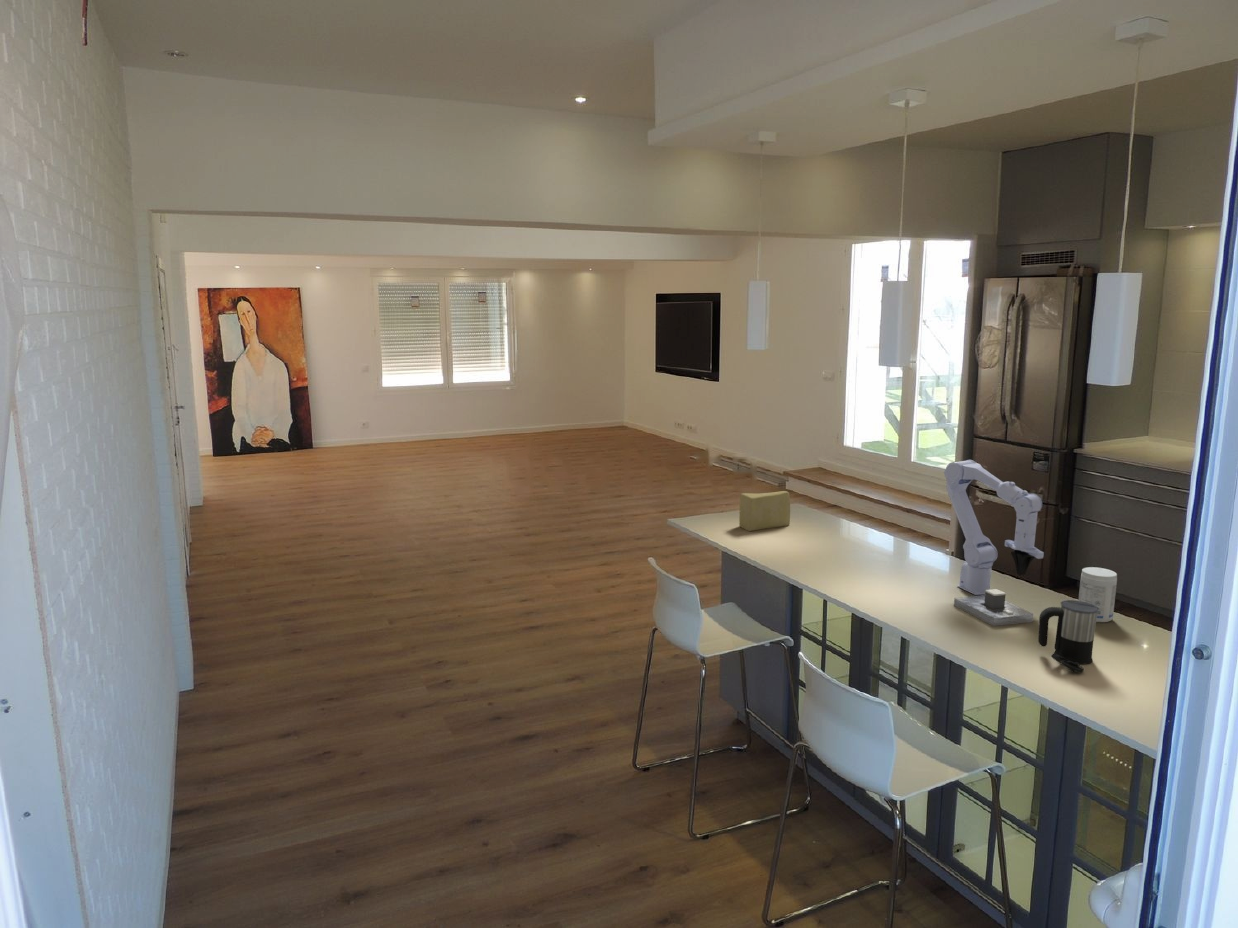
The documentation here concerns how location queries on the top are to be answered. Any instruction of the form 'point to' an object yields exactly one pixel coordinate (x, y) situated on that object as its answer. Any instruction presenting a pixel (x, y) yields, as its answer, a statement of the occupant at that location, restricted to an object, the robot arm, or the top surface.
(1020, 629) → the top surface
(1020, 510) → the robot arm
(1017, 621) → the socket plate
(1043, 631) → the milk frother
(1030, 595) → the top surface
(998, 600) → the plug
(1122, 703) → the top surface
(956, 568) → the top surface
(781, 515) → the cheese
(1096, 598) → the supplement tub
